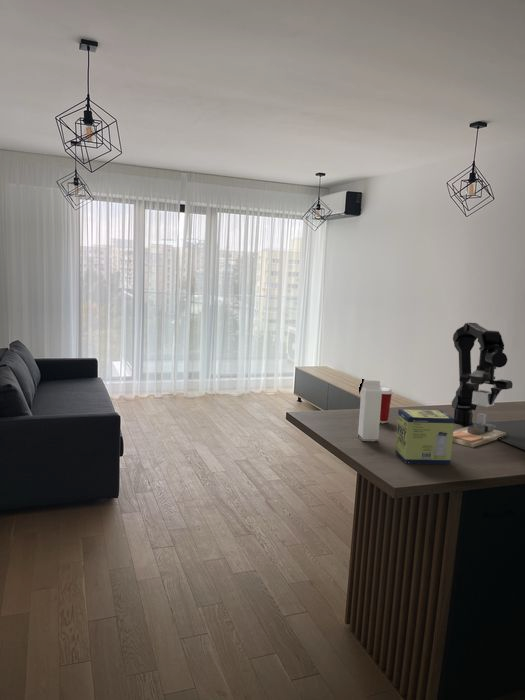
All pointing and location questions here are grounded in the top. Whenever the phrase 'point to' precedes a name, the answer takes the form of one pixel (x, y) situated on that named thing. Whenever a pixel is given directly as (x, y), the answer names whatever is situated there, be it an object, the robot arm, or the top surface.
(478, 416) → the bench vise
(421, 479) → the top surface
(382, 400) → the paper cup
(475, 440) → the board
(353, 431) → the top surface
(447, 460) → the protein box
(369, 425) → the milk
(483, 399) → the steel collar
